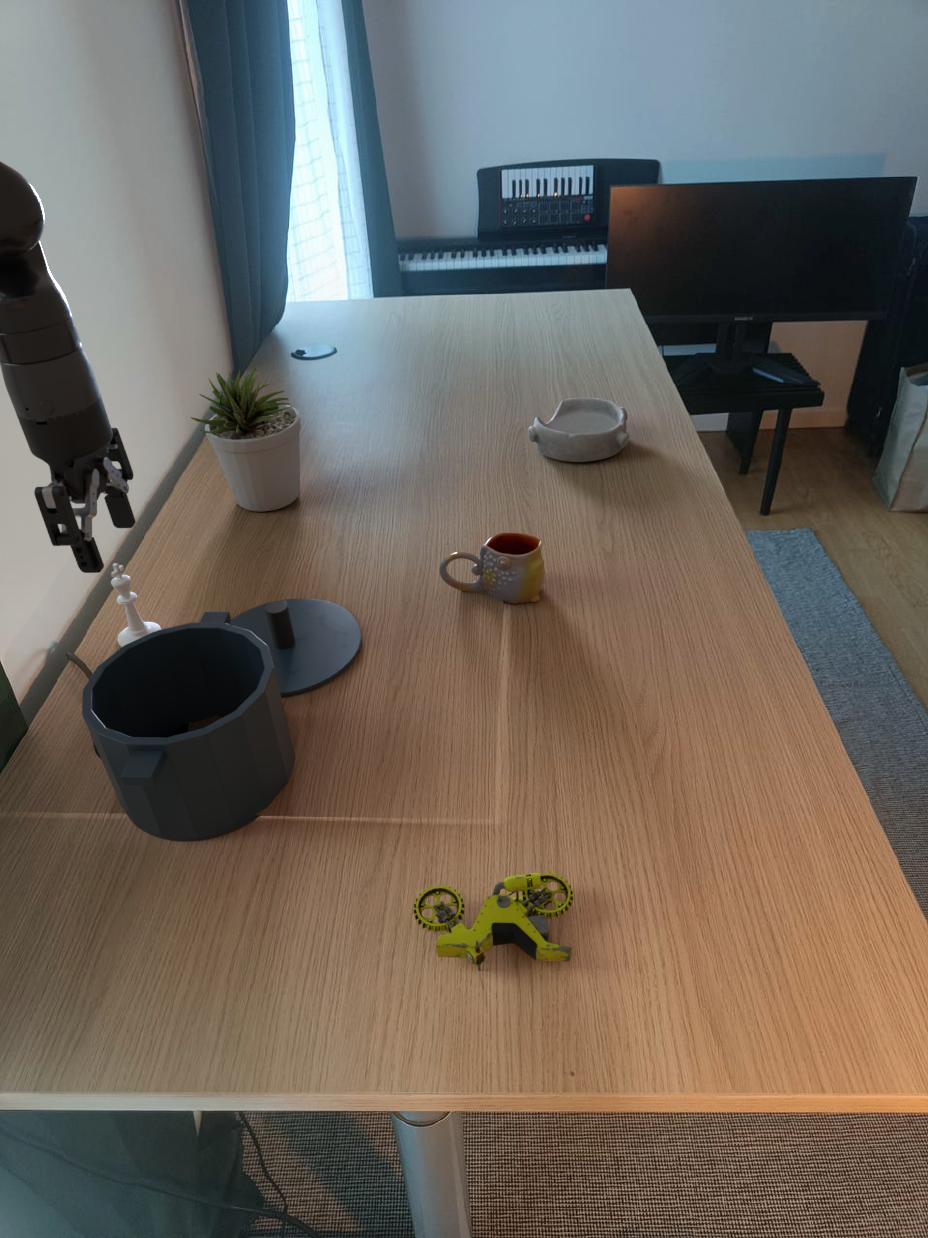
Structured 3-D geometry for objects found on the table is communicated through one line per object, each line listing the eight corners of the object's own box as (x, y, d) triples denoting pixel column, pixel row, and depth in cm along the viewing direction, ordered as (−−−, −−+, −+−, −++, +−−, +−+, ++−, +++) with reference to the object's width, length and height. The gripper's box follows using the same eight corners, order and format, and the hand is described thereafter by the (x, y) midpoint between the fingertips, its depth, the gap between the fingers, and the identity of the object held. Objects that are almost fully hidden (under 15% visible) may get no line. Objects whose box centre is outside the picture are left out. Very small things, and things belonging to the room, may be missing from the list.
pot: (81, 865, 72) (32, 769, 65) (166, 696, 89) (135, 605, 82) (264, 869, 71) (234, 771, 64) (315, 697, 88) (296, 604, 81)
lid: (187, 702, 88) (172, 656, 85) (232, 606, 101) (221, 563, 98) (348, 702, 87) (340, 657, 83) (373, 605, 100) (367, 562, 97)
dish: (523, 461, 127) (522, 429, 124) (547, 422, 138) (547, 392, 135) (621, 471, 123) (623, 439, 120) (638, 431, 134) (640, 400, 131)
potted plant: (205, 493, 124) (170, 356, 113) (297, 469, 129) (272, 335, 117) (228, 532, 115) (192, 387, 103) (326, 504, 120) (302, 362, 108)
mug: (542, 572, 104) (542, 524, 100) (546, 606, 98) (547, 556, 94) (442, 577, 104) (438, 529, 100) (440, 610, 99) (436, 561, 95)
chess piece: (109, 650, 96) (81, 575, 90) (133, 624, 100) (107, 549, 94) (149, 655, 95) (123, 579, 89) (171, 628, 98) (148, 553, 93)
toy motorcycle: (568, 855, 66) (587, 938, 60) (567, 886, 68) (586, 969, 63) (410, 874, 65) (415, 960, 60) (414, 904, 68) (420, 989, 62)
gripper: (52, 371, 86) (102, 514, 96) (-21, 432, 75) (44, 587, 85) (125, 368, 86) (168, 512, 95) (62, 430, 74) (118, 587, 84)
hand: (110, 547), depth 90 cm, fingers open, 8 cm apart
